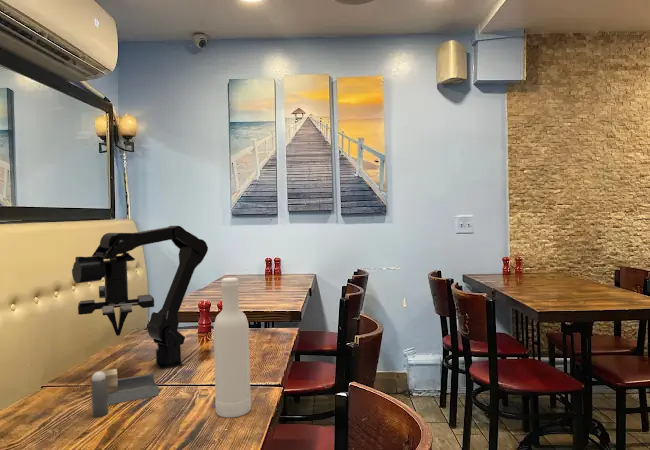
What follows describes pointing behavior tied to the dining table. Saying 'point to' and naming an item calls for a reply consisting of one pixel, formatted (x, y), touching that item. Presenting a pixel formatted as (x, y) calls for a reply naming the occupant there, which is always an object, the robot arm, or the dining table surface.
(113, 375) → the block
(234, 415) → the bottle
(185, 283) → the robot arm
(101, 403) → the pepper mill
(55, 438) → the dining table surface
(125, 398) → the grey open tray
